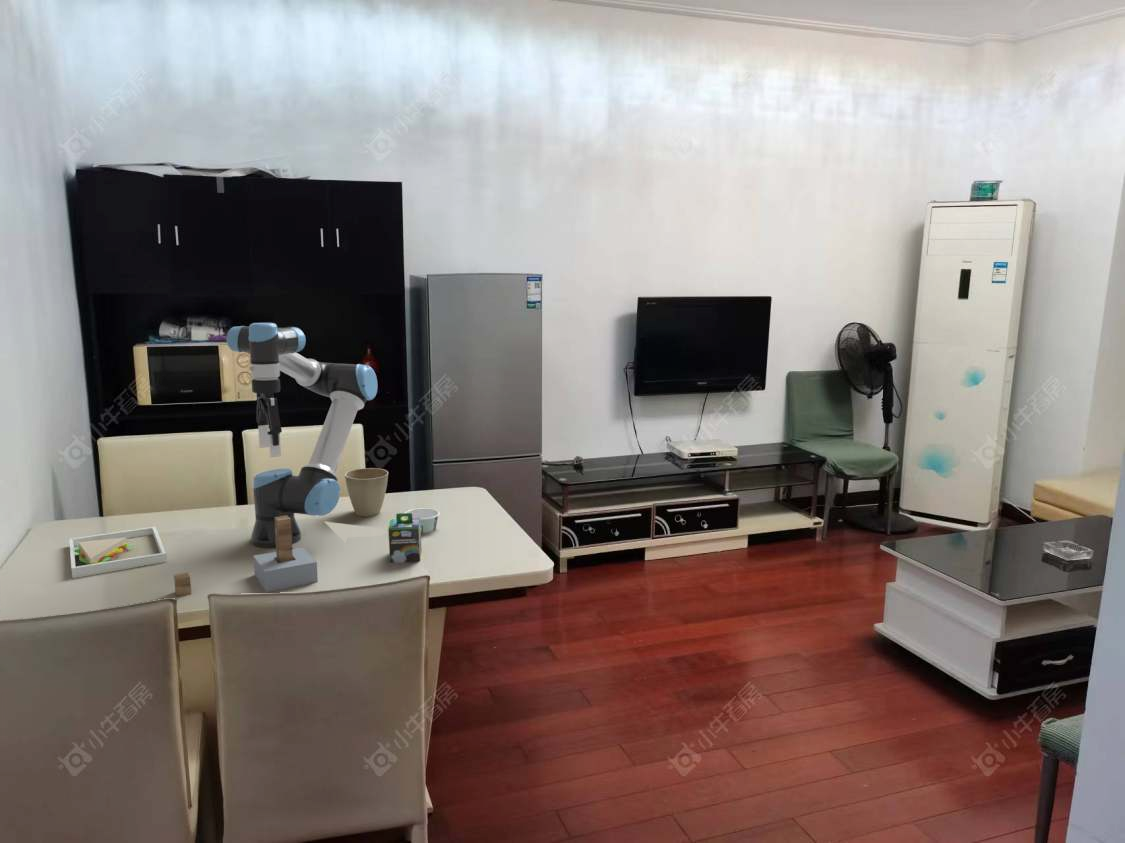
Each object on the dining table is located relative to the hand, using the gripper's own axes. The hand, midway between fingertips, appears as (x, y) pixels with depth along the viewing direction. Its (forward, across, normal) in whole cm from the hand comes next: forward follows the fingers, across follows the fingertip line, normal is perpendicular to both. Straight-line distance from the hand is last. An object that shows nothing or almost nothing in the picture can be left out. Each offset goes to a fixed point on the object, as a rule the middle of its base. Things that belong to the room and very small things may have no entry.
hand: (270, 451), depth 227 cm
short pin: (+35, +7, -26) cm, 44 cm away
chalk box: (+35, +13, +35) cm, 51 cm away
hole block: (+35, +11, 0) cm, 36 cm away
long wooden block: (+35, +11, 0) cm, 36 cm away
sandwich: (+35, -31, -45) cm, 65 cm away
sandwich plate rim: (+35, -34, -39) cm, 62 cm away
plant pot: (+35, -33, +39) cm, 62 cm away
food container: (+35, -8, +49) cm, 61 cm away
